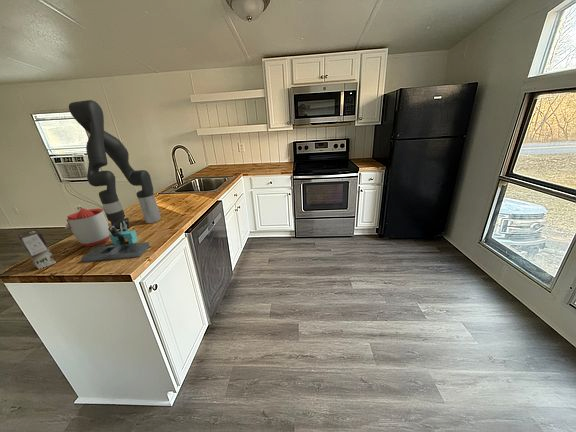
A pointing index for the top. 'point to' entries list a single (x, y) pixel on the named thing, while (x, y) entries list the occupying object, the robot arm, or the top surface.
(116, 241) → the teal rectangular block
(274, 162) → the top surface
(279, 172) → the top surface
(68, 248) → the top surface
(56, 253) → the top surface
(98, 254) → the grey board with holes
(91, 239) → the citrus juicer
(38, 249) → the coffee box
